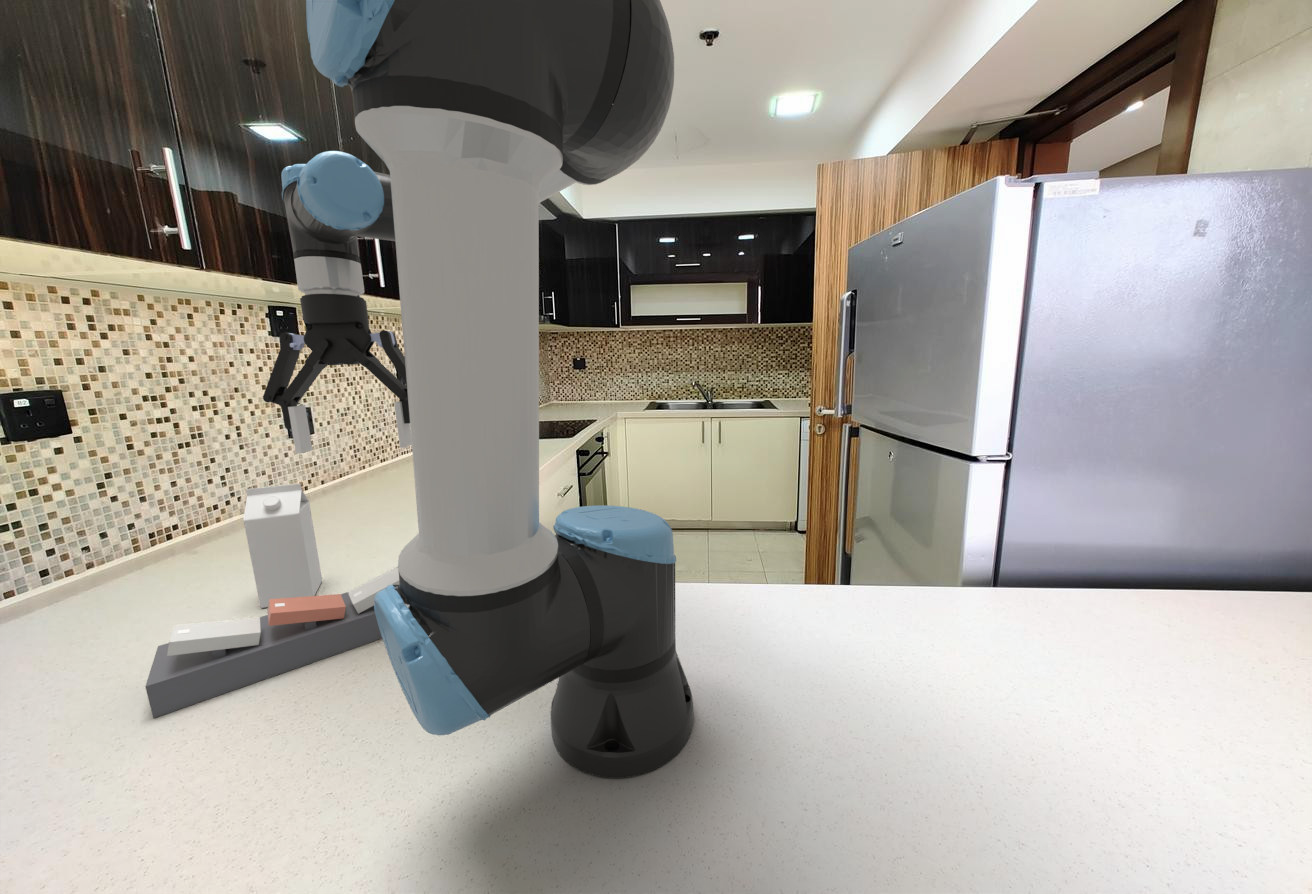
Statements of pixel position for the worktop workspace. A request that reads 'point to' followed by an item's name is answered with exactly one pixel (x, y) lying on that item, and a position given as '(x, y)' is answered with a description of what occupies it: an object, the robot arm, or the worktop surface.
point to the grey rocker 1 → (214, 635)
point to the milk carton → (281, 543)
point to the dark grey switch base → (254, 658)
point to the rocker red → (305, 609)
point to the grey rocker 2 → (372, 589)
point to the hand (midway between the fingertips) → (356, 449)
